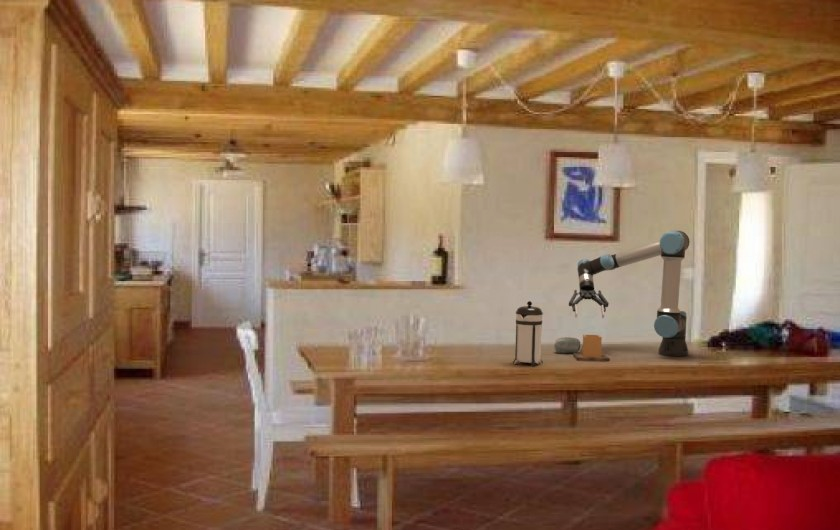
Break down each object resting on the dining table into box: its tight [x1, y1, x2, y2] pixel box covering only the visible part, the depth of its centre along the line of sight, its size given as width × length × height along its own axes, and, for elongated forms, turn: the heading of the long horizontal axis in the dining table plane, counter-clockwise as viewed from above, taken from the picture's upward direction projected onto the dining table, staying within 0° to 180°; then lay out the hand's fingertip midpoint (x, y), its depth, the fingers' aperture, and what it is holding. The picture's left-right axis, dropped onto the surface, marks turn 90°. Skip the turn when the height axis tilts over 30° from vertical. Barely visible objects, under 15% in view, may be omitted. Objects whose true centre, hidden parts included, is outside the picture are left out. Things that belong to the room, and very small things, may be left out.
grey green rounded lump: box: [553, 336, 581, 354], centre depth 465 cm, size 14×10×10 cm
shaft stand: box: [573, 352, 611, 362], centre depth 447 cm, size 16×14×8 cm
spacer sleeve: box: [581, 334, 603, 357], centre depth 447 cm, size 8×8×10 cm
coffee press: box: [512, 300, 544, 367], centre depth 427 cm, size 17×16×30 cm
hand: (589, 316), depth 457 cm, fingers open, 13 cm apart
